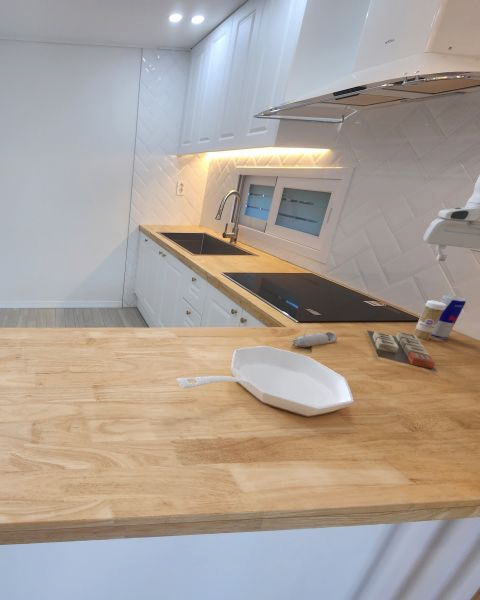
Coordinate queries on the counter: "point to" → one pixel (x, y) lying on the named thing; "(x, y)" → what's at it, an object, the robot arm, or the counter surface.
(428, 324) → the sprinkles bottle
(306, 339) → the torpedo
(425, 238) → the robot arm
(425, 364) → the s tile
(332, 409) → the pan
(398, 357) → the letter board
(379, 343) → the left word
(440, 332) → the beverage can
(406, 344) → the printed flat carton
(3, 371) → the counter surface
